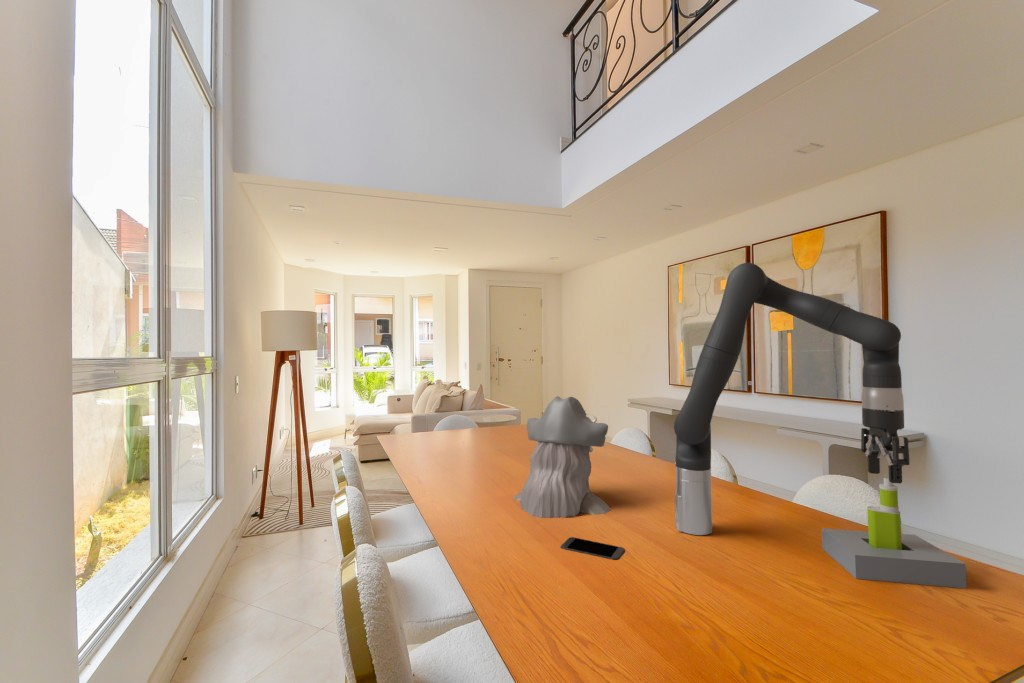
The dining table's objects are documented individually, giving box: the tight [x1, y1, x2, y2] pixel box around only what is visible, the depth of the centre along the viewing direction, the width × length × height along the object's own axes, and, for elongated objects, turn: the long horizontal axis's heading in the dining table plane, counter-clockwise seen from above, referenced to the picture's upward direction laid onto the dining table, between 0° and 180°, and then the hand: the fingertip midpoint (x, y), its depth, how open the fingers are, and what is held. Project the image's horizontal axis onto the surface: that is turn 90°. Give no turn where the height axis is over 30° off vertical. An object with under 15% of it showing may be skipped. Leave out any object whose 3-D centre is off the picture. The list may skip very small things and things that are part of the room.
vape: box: [867, 476, 902, 550], centre depth 104 cm, size 4×6×20 cm, turn 58°
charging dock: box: [821, 528, 967, 589], centre depth 103 cm, size 20×16×5 cm
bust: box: [512, 395, 611, 519], centre depth 152 cm, size 34×34×35 cm
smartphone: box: [560, 536, 626, 561], centre depth 114 cm, size 7×15×1 cm, turn 61°
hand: (884, 477), depth 104 cm, fingers open, 8 cm apart
